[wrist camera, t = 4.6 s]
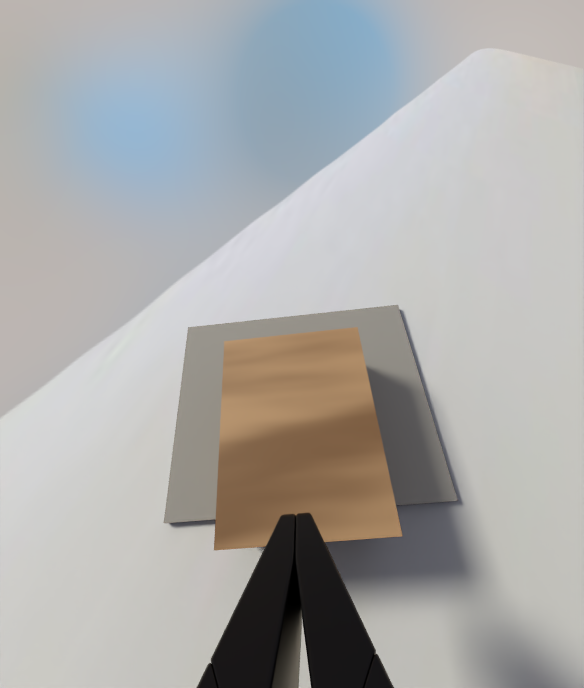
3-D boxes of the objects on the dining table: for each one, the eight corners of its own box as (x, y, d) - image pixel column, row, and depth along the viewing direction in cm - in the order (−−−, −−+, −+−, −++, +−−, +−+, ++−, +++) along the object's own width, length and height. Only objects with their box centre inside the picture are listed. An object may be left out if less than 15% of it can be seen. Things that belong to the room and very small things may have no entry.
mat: (454, 500, 14) (458, 500, 14) (167, 522, 15) (163, 523, 15) (396, 308, 20) (397, 304, 20) (190, 330, 21) (188, 327, 20)
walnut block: (402, 536, 10) (357, 326, 15) (214, 550, 11) (224, 341, 15) (381, 525, 14) (350, 359, 18) (240, 536, 14) (242, 370, 18)
